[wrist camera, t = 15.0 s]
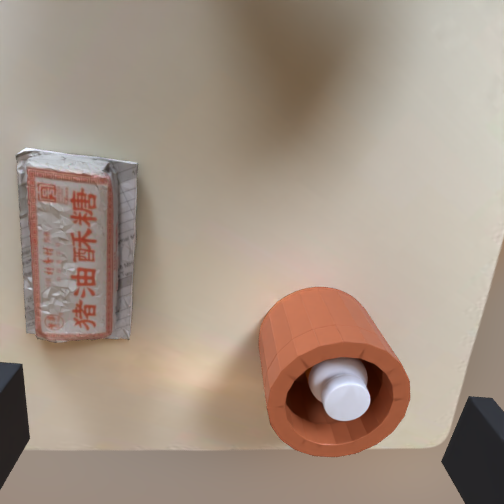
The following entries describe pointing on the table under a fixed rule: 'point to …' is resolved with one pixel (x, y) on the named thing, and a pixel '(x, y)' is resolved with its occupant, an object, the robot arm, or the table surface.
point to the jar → (320, 349)
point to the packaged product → (77, 244)
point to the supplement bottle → (340, 387)
